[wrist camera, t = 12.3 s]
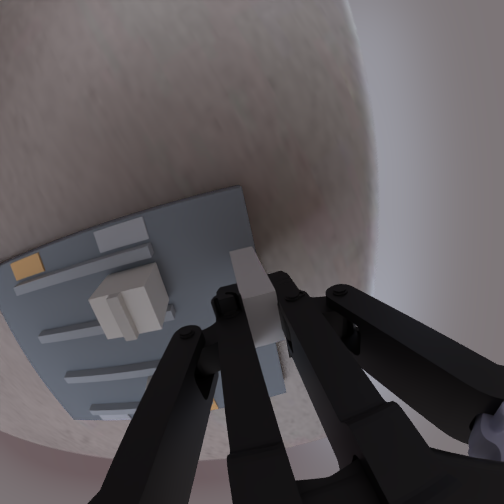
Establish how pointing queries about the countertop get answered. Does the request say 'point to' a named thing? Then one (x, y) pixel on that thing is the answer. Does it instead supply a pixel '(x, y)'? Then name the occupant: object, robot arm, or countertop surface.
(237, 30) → the countertop surface
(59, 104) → the countertop surface
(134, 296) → the tab
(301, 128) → the countertop surface
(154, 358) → the switch board
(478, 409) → the robot arm
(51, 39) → the countertop surface
